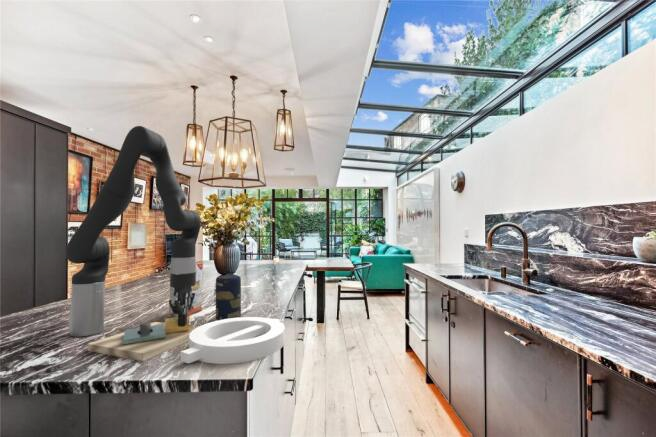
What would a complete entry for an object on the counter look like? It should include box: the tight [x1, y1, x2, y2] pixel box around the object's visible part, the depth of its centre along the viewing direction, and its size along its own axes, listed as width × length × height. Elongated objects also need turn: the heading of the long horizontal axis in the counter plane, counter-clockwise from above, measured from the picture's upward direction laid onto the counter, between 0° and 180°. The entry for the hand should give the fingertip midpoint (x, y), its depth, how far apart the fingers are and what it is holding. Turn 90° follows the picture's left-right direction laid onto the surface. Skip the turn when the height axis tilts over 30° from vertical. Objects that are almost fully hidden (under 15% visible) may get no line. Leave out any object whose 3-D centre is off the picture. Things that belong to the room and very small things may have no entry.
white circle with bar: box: [180, 316, 286, 365], centre depth 95 cm, size 28×28×5 cm
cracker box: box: [168, 262, 204, 318], centre depth 130 cm, size 14×6×21 cm, turn 168°
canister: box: [215, 273, 242, 321], centre depth 122 cm, size 10×10×18 cm
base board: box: [87, 312, 198, 362], centre depth 97 cm, size 22×23×6 cm
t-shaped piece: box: [123, 315, 190, 344], centre depth 98 cm, size 18×11×4 cm, turn 120°
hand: (182, 325), depth 98 cm, fingers closed
